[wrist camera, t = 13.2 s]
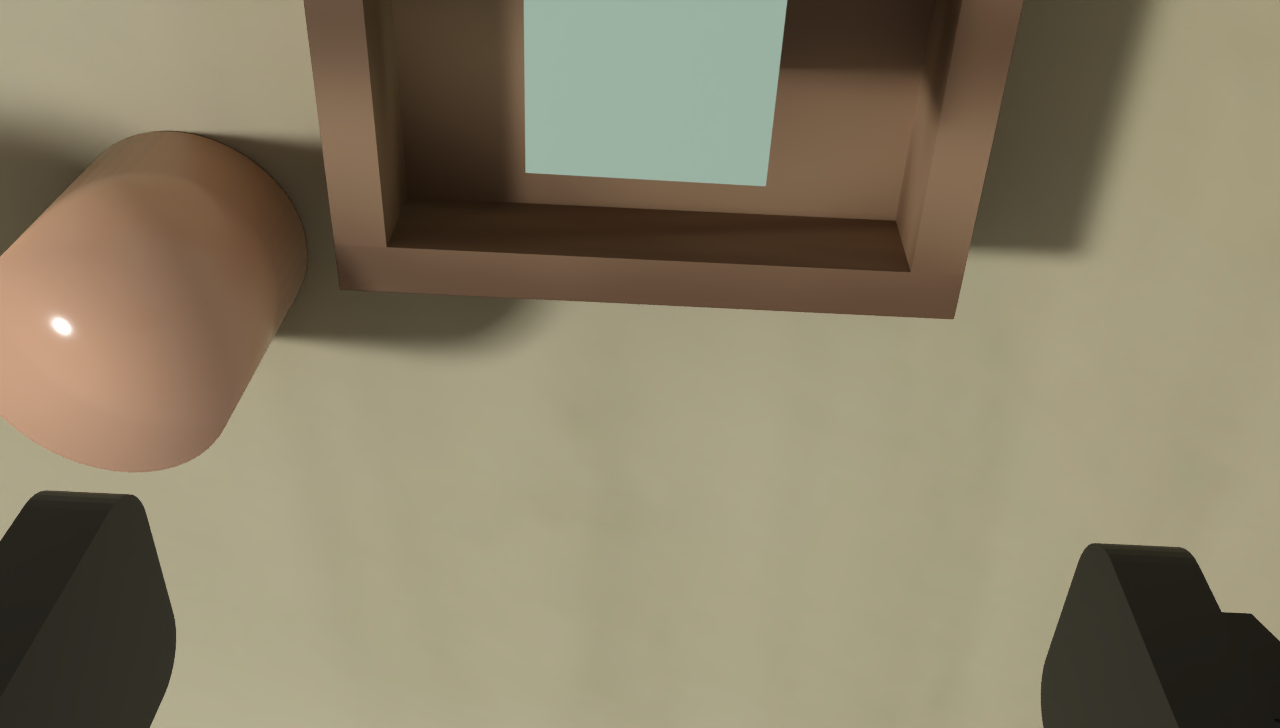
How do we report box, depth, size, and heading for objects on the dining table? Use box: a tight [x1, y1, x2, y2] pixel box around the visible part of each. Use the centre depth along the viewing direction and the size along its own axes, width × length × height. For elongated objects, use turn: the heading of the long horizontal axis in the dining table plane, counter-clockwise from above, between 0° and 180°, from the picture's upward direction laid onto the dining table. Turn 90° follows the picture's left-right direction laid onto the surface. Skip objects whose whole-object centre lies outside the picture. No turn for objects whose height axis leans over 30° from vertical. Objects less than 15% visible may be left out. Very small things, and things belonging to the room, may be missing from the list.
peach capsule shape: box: [0, 131, 307, 472], centre depth 29 cm, size 6×6×6 cm
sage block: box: [524, 0, 787, 186], centre depth 24 cm, size 4×4×6 cm
